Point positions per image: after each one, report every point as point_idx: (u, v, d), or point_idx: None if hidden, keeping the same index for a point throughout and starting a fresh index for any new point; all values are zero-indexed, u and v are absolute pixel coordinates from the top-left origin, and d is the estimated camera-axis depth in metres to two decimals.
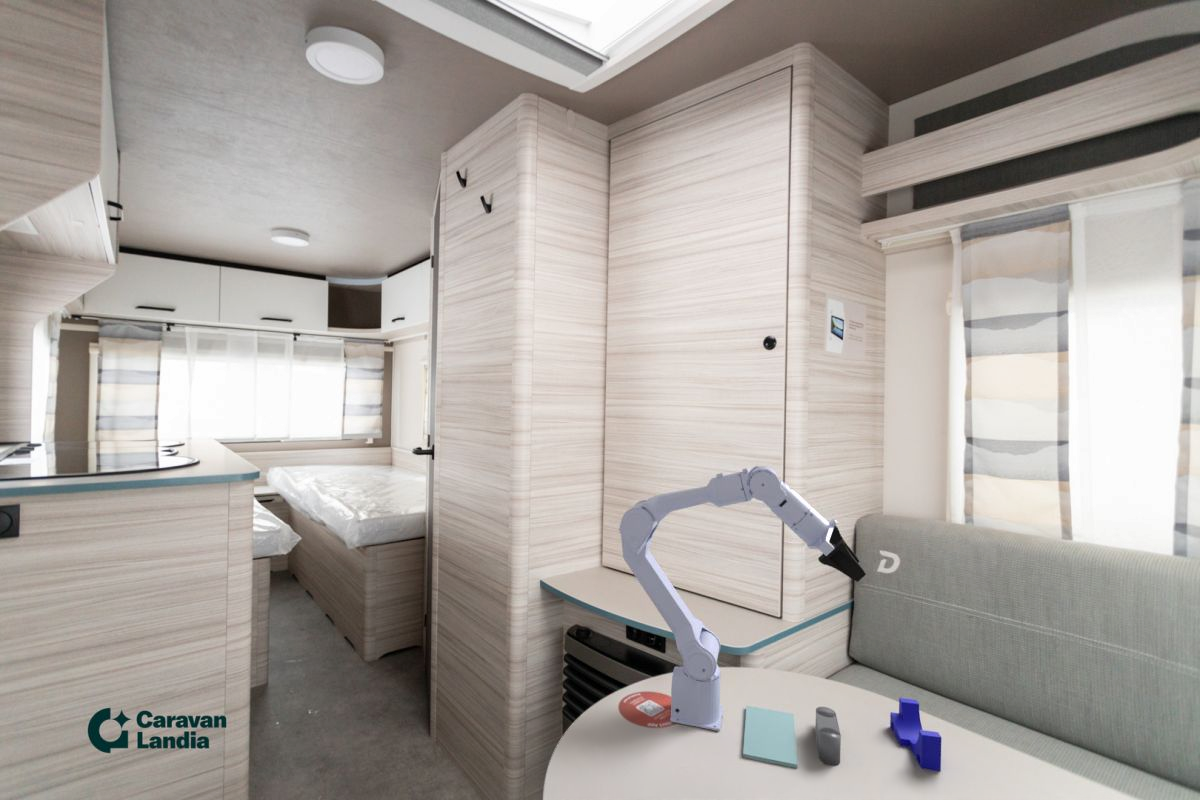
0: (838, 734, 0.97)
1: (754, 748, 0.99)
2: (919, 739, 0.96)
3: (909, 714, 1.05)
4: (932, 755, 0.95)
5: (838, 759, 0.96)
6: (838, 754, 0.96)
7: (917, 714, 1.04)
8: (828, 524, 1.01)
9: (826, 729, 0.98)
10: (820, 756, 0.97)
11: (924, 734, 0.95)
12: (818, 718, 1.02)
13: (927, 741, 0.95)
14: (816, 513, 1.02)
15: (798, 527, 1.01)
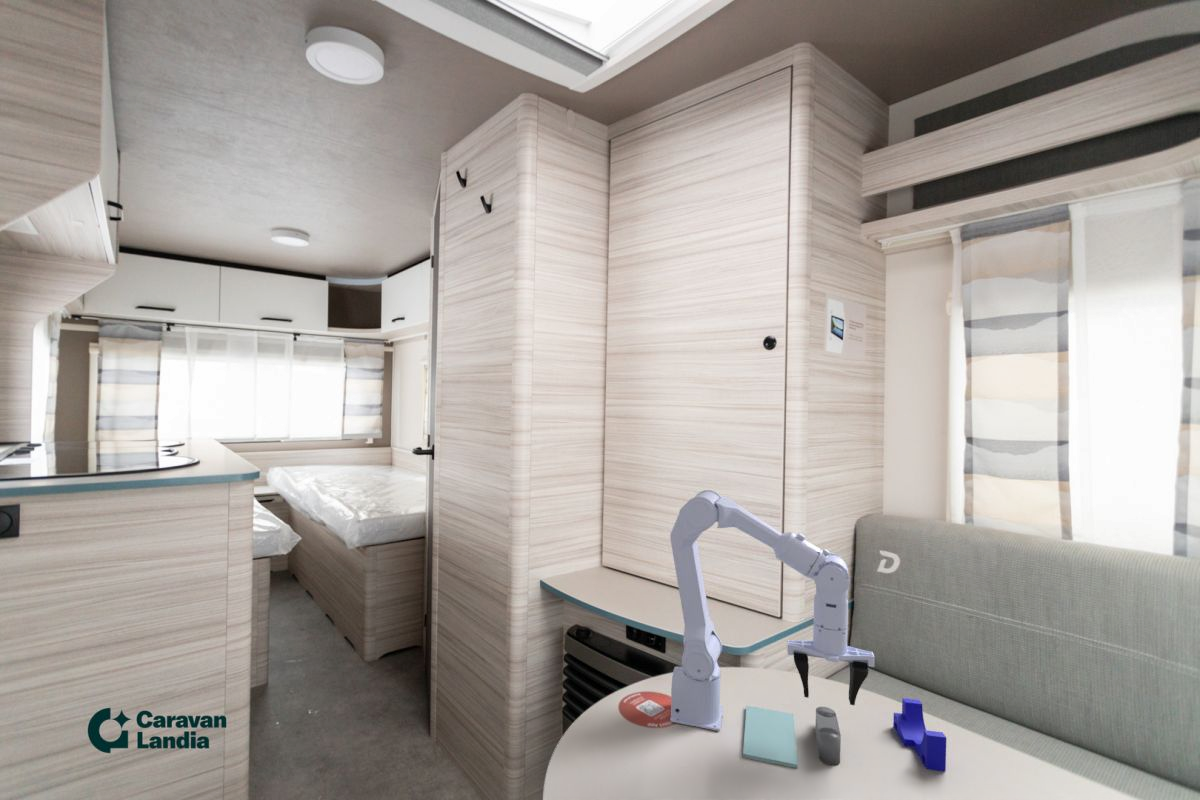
0: (838, 734, 0.97)
1: (754, 748, 0.99)
2: (924, 739, 0.96)
3: (912, 714, 1.05)
4: (937, 755, 0.95)
5: (838, 759, 0.96)
6: (838, 754, 0.96)
7: (920, 714, 1.04)
8: (825, 652, 0.98)
9: (826, 729, 0.98)
10: (820, 756, 0.97)
11: (929, 734, 0.95)
12: (818, 718, 1.02)
13: (932, 741, 0.95)
14: (826, 636, 0.98)
15: None
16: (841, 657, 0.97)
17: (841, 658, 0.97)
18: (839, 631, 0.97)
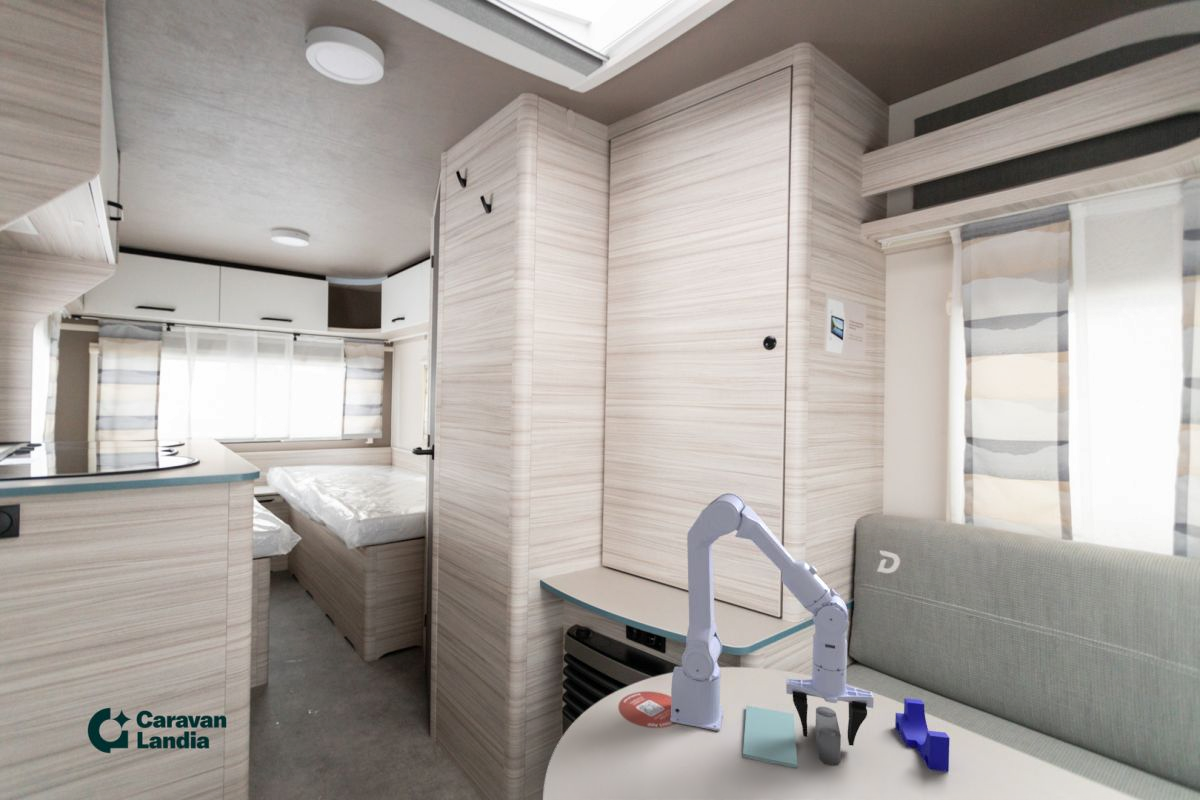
0: (838, 734, 0.97)
1: (754, 748, 0.99)
2: (927, 740, 0.96)
3: (914, 714, 1.05)
4: (940, 756, 0.95)
5: (838, 759, 0.96)
6: (838, 754, 0.96)
7: (922, 714, 1.04)
8: (824, 692, 0.98)
9: (826, 729, 0.98)
10: (820, 756, 0.97)
11: (932, 734, 0.95)
12: (818, 718, 1.02)
13: (935, 742, 0.95)
14: (825, 676, 0.98)
15: None
16: (840, 698, 0.97)
17: (840, 699, 0.97)
18: (838, 672, 0.98)
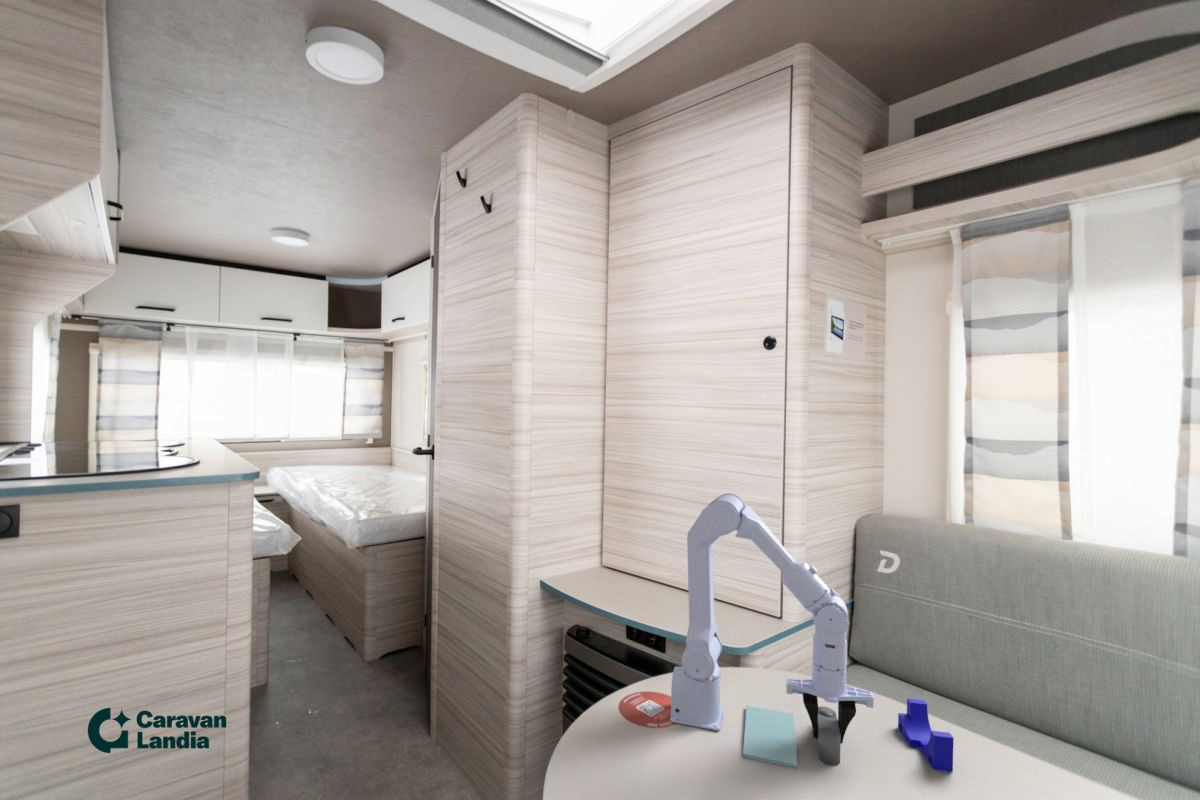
0: (838, 734, 0.97)
1: (754, 748, 0.99)
2: (931, 740, 0.96)
3: (917, 714, 1.05)
4: (944, 756, 0.95)
5: (838, 759, 0.96)
6: (838, 754, 0.96)
7: (925, 714, 1.04)
8: (824, 692, 0.98)
9: (826, 729, 0.98)
10: (820, 756, 0.97)
11: (936, 735, 0.95)
12: (818, 718, 1.02)
13: (939, 742, 0.95)
14: (825, 676, 0.98)
15: None
16: (840, 698, 0.97)
17: (840, 699, 0.97)
18: (838, 672, 0.98)
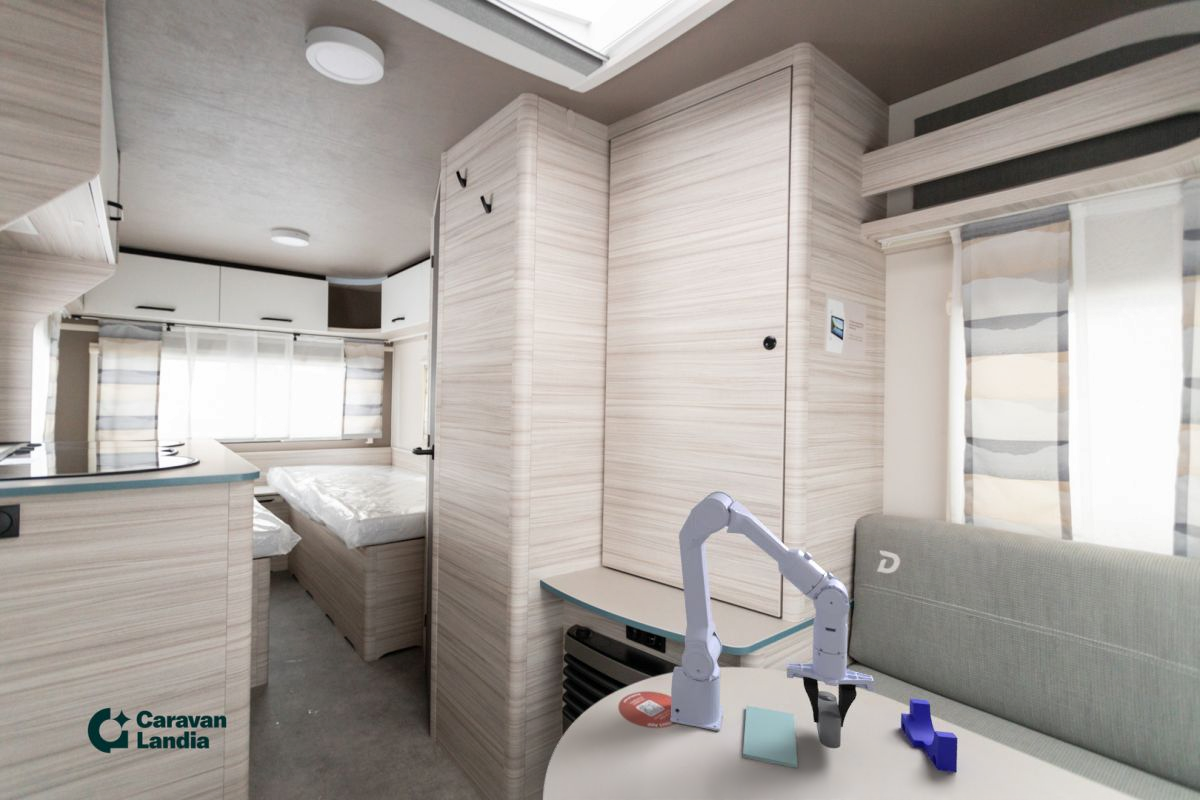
0: (838, 717, 0.97)
1: (754, 748, 0.99)
2: (935, 740, 0.96)
3: (920, 715, 1.05)
4: (948, 756, 0.95)
5: (839, 742, 0.96)
6: (838, 737, 0.96)
7: (928, 714, 1.04)
8: (824, 676, 0.98)
9: (827, 712, 0.98)
10: (820, 739, 0.97)
11: (940, 735, 0.95)
12: (818, 702, 1.02)
13: (943, 742, 0.95)
14: (825, 660, 0.98)
15: None
16: (840, 681, 0.97)
17: (840, 682, 0.97)
18: (838, 655, 0.98)
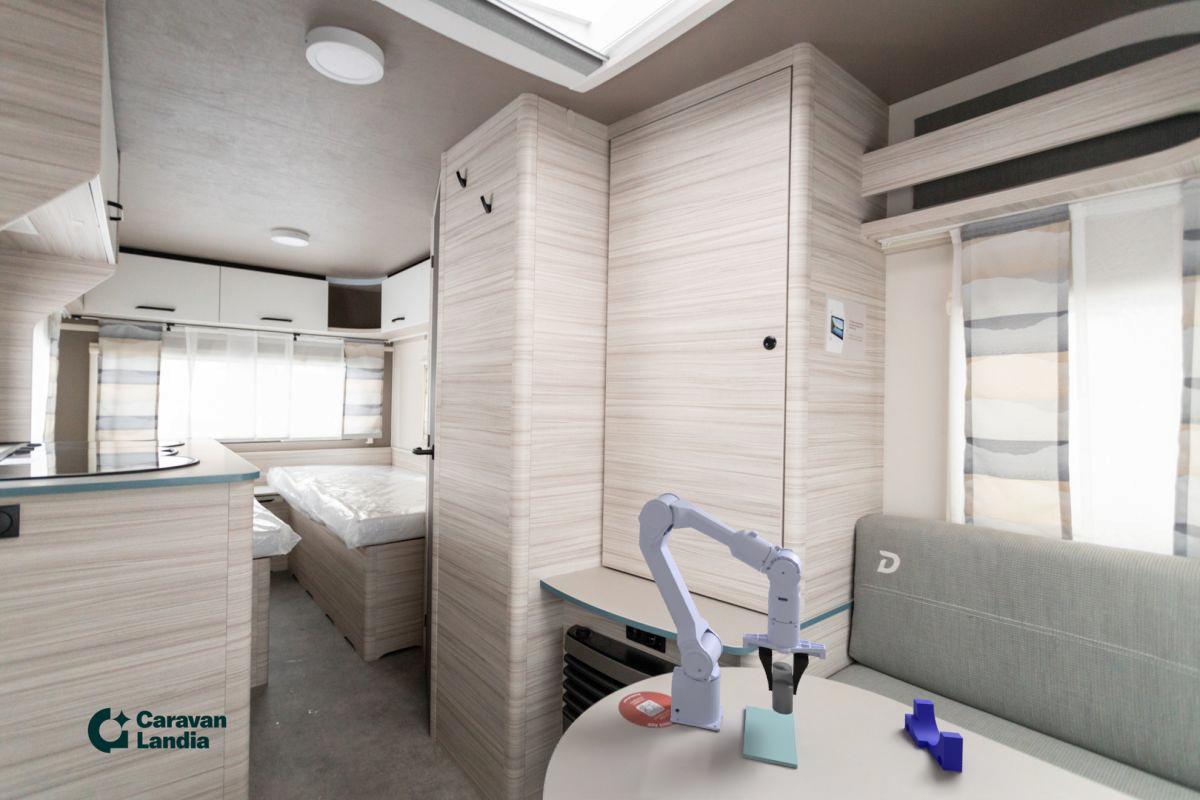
0: (791, 684, 0.99)
1: (754, 748, 0.99)
2: (940, 741, 0.96)
3: (924, 715, 1.05)
4: (954, 756, 0.95)
5: (791, 709, 0.98)
6: (790, 703, 0.98)
7: (932, 714, 1.04)
8: (778, 644, 1.00)
9: (780, 680, 1.00)
10: (773, 706, 0.99)
11: (946, 735, 0.95)
12: (773, 671, 1.04)
13: (949, 742, 0.95)
14: (778, 629, 1.00)
15: None
16: (793, 649, 1.00)
17: (793, 650, 1.00)
18: (791, 624, 1.00)
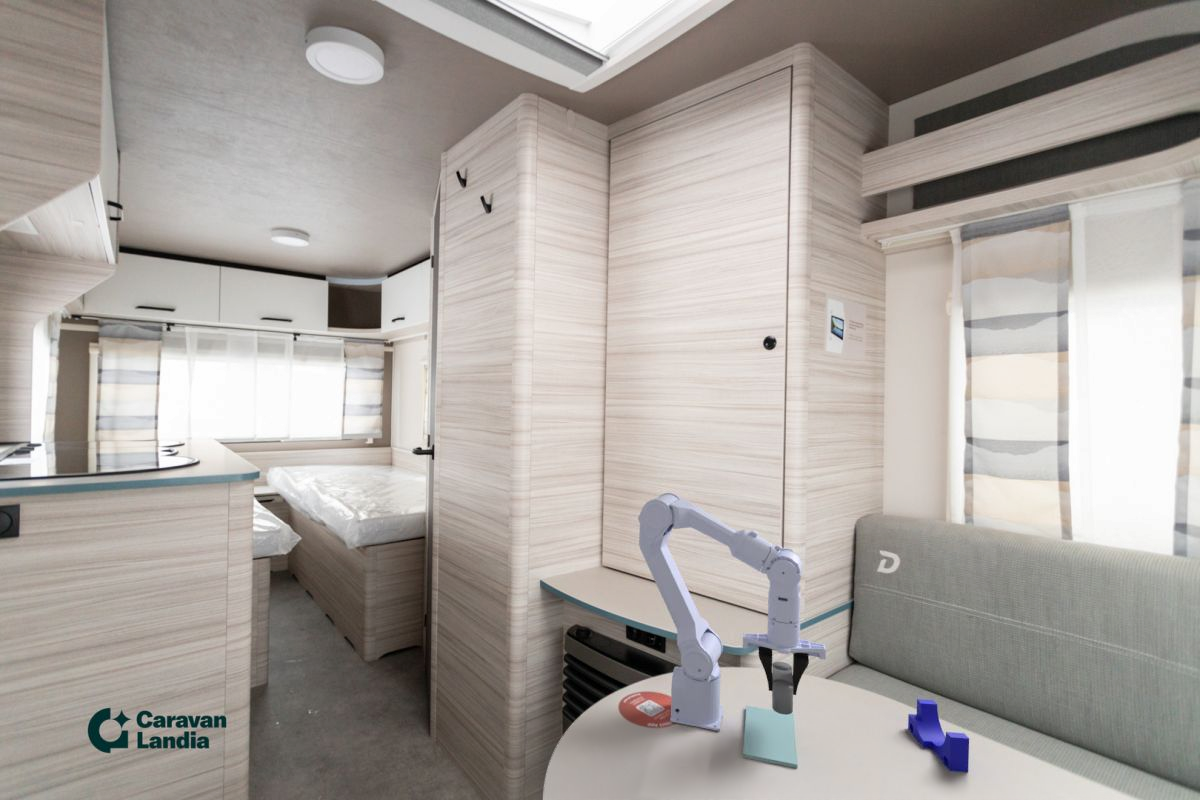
0: (791, 684, 0.99)
1: (754, 748, 0.99)
2: (946, 741, 0.96)
3: (928, 715, 1.05)
4: (960, 757, 0.94)
5: (791, 709, 0.98)
6: (790, 703, 0.98)
7: (936, 715, 1.04)
8: (778, 644, 1.00)
9: (780, 680, 1.00)
10: (773, 706, 0.99)
11: (952, 736, 0.95)
12: (773, 671, 1.04)
13: (955, 743, 0.95)
14: (778, 629, 1.00)
15: None
16: (793, 649, 1.00)
17: (793, 650, 1.00)
18: (791, 624, 1.00)
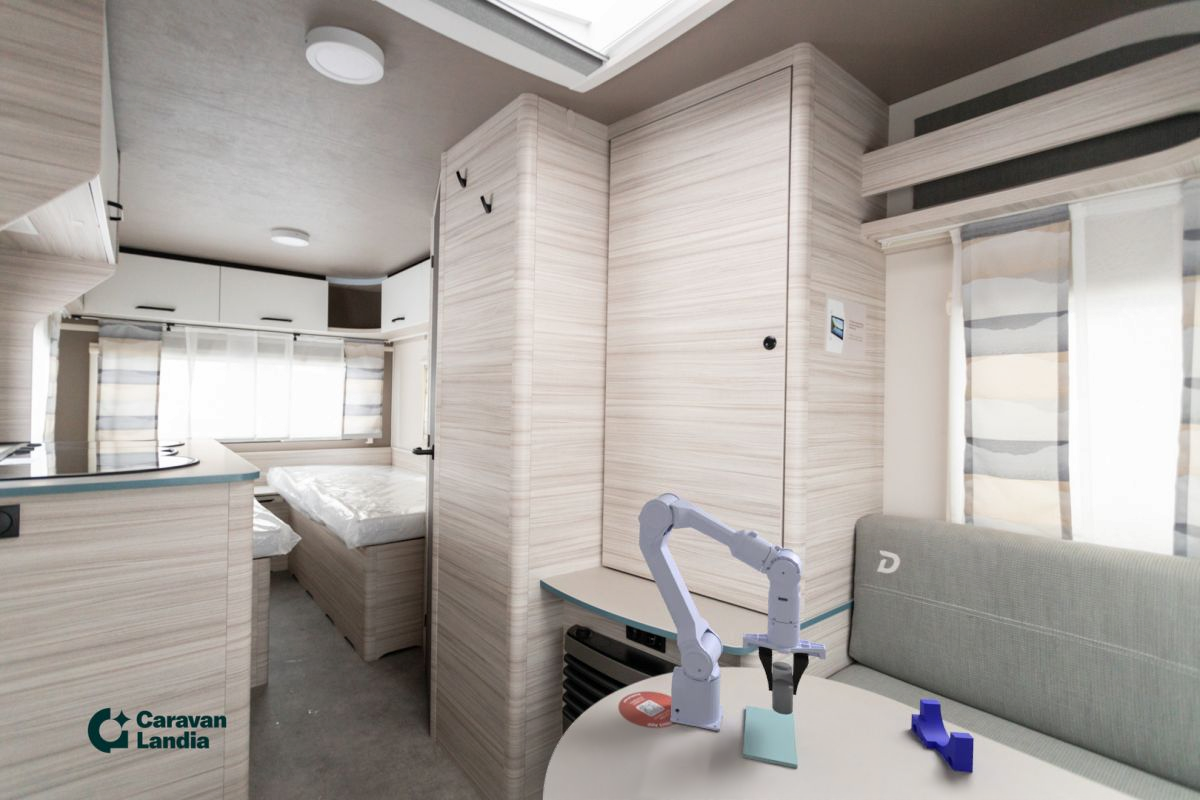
0: (791, 684, 0.99)
1: (754, 748, 0.99)
2: (951, 741, 0.96)
3: (931, 715, 1.05)
4: (965, 757, 0.94)
5: (791, 709, 0.98)
6: (790, 703, 0.98)
7: (939, 714, 1.04)
8: (778, 644, 1.00)
9: (780, 680, 1.00)
10: (773, 706, 0.99)
11: (957, 736, 0.95)
12: (773, 671, 1.04)
13: (960, 743, 0.95)
14: (778, 629, 1.00)
15: None
16: (793, 649, 1.00)
17: (793, 650, 1.00)
18: (791, 624, 1.00)
